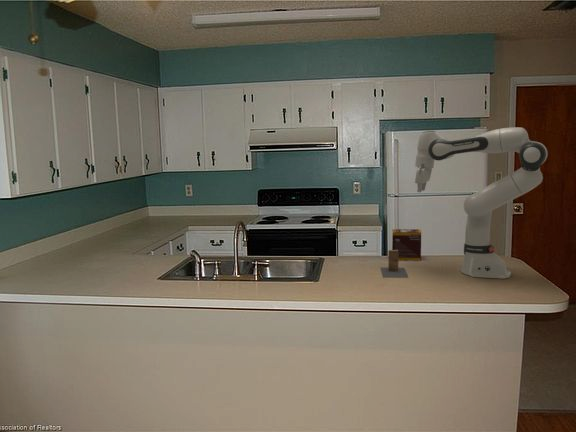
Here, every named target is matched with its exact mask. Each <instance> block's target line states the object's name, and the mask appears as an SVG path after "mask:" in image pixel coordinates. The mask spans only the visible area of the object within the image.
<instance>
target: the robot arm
mask: <svg viewBox="0 0 576 432" xmlns="http://www.w3.org/2000/svg"><path fill="white" fill-rule="evenodd" d="M473 152H474V153H481V154H482V153H483V154H484V153H485V154H502V153H508V152H515V153H518V154H519V161H520V165H521V167H520V168H518V169H517V170H515V171H513V172H511V173H509V174H508V175H505V176H504V177H502V178H499V179H498V180H496V181H494V182H492V183H490V184H489V185H487V186H485V187H482V189H479V190H477V191H475V192H473V193H472V194H470V195H468V196H467V197H466V199H465V200H464V202H463V210H464V212H465V213H466V215H467V219H466V225H465V239H464V241H465V243H463V256H464V257H463V263H462V267H461V270H460V272H461V273H462V274H464V275H467V276H469V277H471V278H472V277H473V278H487V279H488V278H489V279H504V280H505V279H508V278H510V277H511V276H512V272H511V270H508V269H507V266H506V262H505V260H504V259H502V258H501V257H500V256H499V255H498V254H496V253H495V246H494V245H492V244H491V243H490V241H491V240H490V239H491V223H492V214H493V211H495V210H496V209H498V208H500V207H502V206H504V205H505V204H508V203H510V202H511V201H513V200H516V199H517V198H519V197H521V196H523V195H525V194H527V193H528V192H530V191H532V190H533V189H535V188H537V187H538V186H539V185H541V184H542V183H543V179H544V177H543V173H542V171H541V166H542V165H543V164H544V163H545V162H546V161H547V158H548V155H549V153H548V149H547V147H546V146H545V144H543V143H541V142H538V141H535V140H532V139H530V138H529V134H528V131H527V130H526V129H525V128H524V127H518V126H517V127H516V126H515V127H513V126H512V127H502V128H497V129H493V130H489V131H487V132H484V133H483V132H482V133H480V134H478V135H476V136H473V137H469V138H462V139H456V140H451V139H448V138H446V137H444V136H442V135H441V134H439V133H438V132H437V131H435V130H429V131H423V132H421V133H420V135H419V138H418V142H417V154H416V157H415V163H414V165H415V168H416V169H417V170H416V173H415V178H414V183H415V184H417V185H416V187H417V190H416V191H417V193H421V192H422V191H425V189H426V186H427V182H429V181H430V179H431V177H432V169H434V166H435V161H439V162H440V161H443V160H447V159H451V158H452V157H454V156H455V155H459V154H464V153H465V154H466V153H473Z"/></svg>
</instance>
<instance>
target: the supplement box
mask: <svg viewBox="0 0 576 432" xmlns="http://www.w3.org/2000/svg"><path fill="white" fill-rule="evenodd" d="M391 243H392V244H391V250H398V261H408V260H412V261H414V262H418V261H419V262H420V261H421V260H422V231H421V229H420V228H419V229H418V228H417V229H411V228H410V229H409V228H406V229H405V228H404V229H402V228H397V229H396V228H393V229H392V242H391Z"/></svg>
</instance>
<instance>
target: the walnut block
mask: <svg viewBox="0 0 576 432" xmlns="http://www.w3.org/2000/svg"><path fill="white" fill-rule="evenodd" d="M387 267H388V270H389V271H398V267H399V260H398V250H392V249H388V266H387Z"/></svg>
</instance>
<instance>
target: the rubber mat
mask: <svg viewBox="0 0 576 432" xmlns="http://www.w3.org/2000/svg"><path fill="white" fill-rule="evenodd" d="M388 267H389V266H387V267H385V266H384V267H380V271H381V275H382V276H381V277H382V279H383V278H384V279H385V278H386V279H387V278H388V279H389V278H391V279H394V278H395V279H397V278H398V279H409V276H408V275H409V274H408V273H407V271H406V268H405V267H399V266H398V271H389V270H388Z"/></svg>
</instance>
